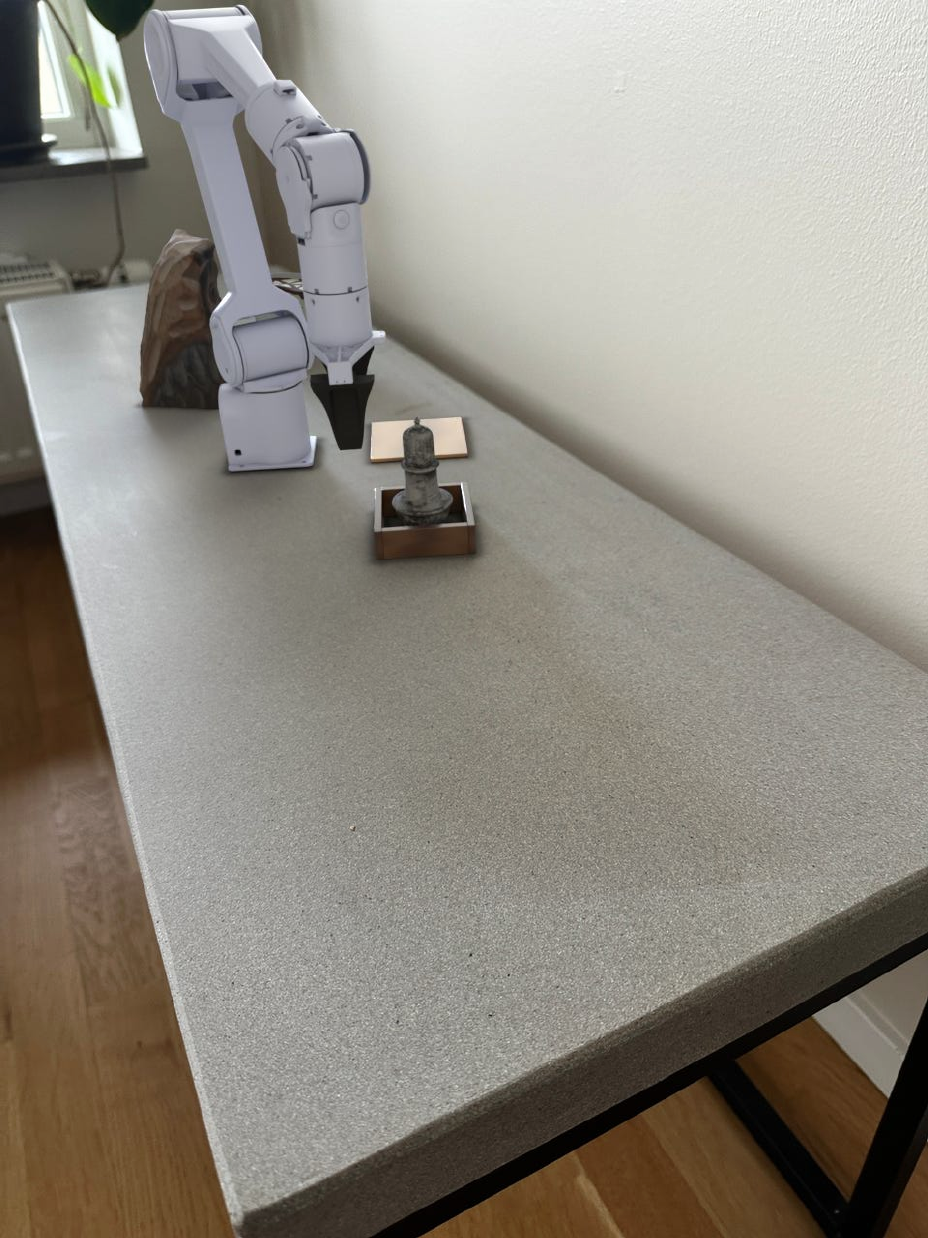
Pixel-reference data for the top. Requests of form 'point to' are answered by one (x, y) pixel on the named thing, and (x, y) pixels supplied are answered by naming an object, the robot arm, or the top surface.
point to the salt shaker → (421, 481)
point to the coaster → (391, 432)
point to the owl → (181, 327)
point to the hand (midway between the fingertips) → (351, 432)
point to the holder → (424, 527)
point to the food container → (287, 290)
